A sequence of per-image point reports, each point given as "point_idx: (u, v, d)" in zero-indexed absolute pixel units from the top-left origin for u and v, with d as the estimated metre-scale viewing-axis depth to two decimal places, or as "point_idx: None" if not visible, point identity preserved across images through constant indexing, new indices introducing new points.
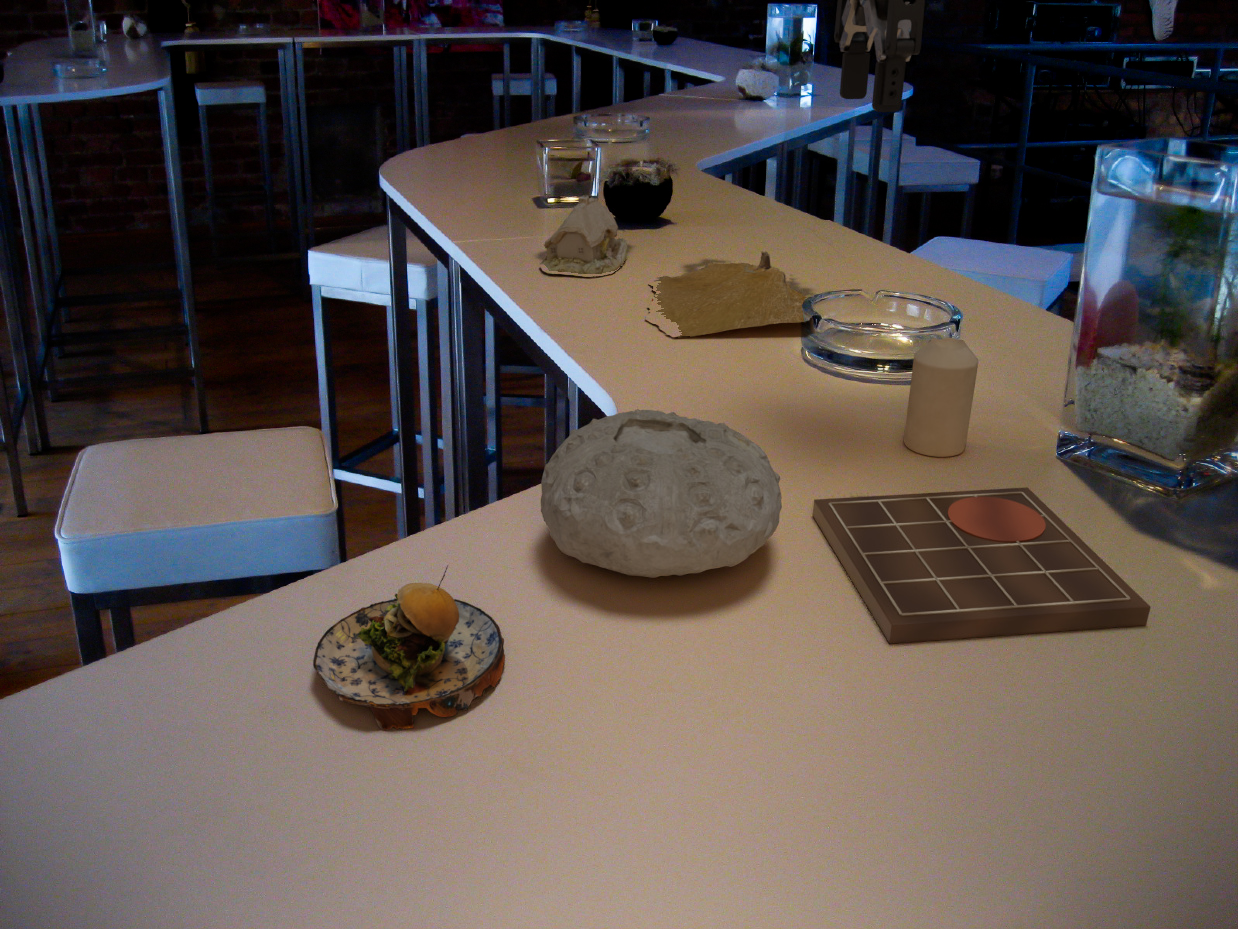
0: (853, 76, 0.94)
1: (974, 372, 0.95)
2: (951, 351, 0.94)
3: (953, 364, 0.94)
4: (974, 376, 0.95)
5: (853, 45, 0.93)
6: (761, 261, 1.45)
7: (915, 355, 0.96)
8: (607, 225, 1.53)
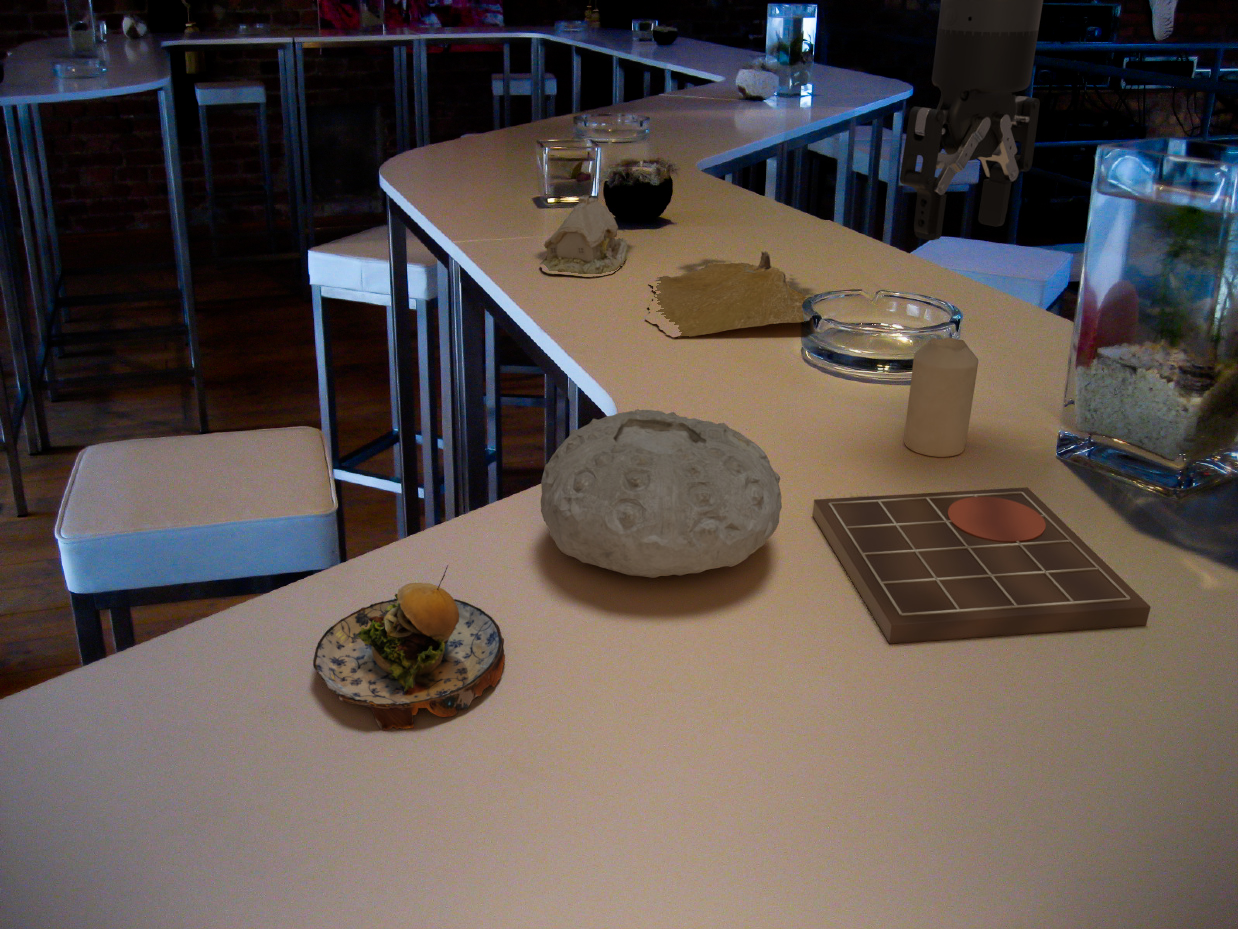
0: (989, 203, 0.93)
1: (974, 372, 0.95)
2: (951, 351, 0.94)
3: (953, 364, 0.94)
4: (974, 376, 0.95)
5: (993, 172, 0.92)
6: (761, 261, 1.45)
7: (915, 355, 0.96)
8: (607, 225, 1.53)
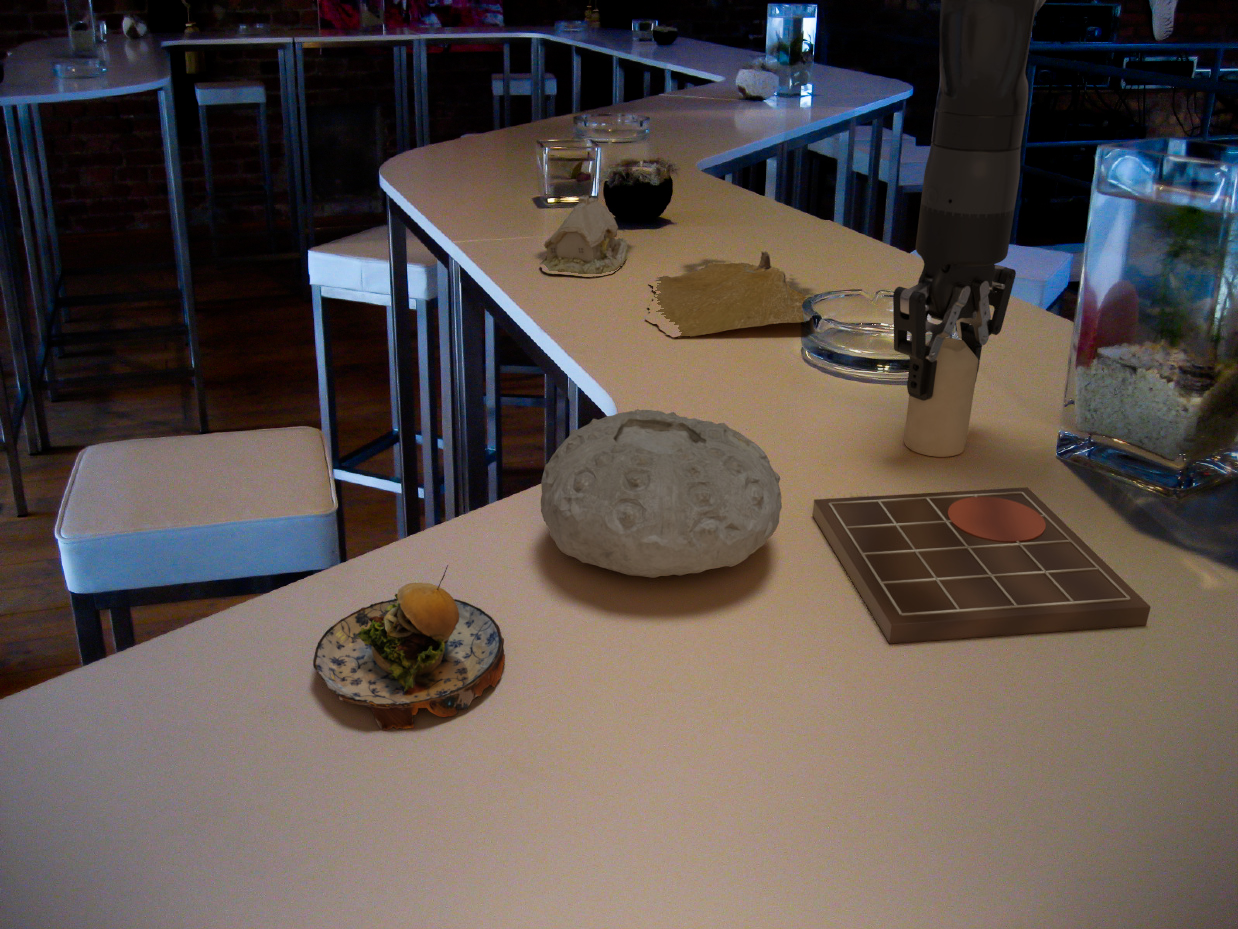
0: None
1: (974, 372, 0.95)
2: (951, 351, 0.94)
3: (953, 364, 0.94)
4: (974, 376, 0.95)
5: (965, 334, 0.97)
6: (761, 261, 1.45)
7: None
8: (607, 225, 1.53)
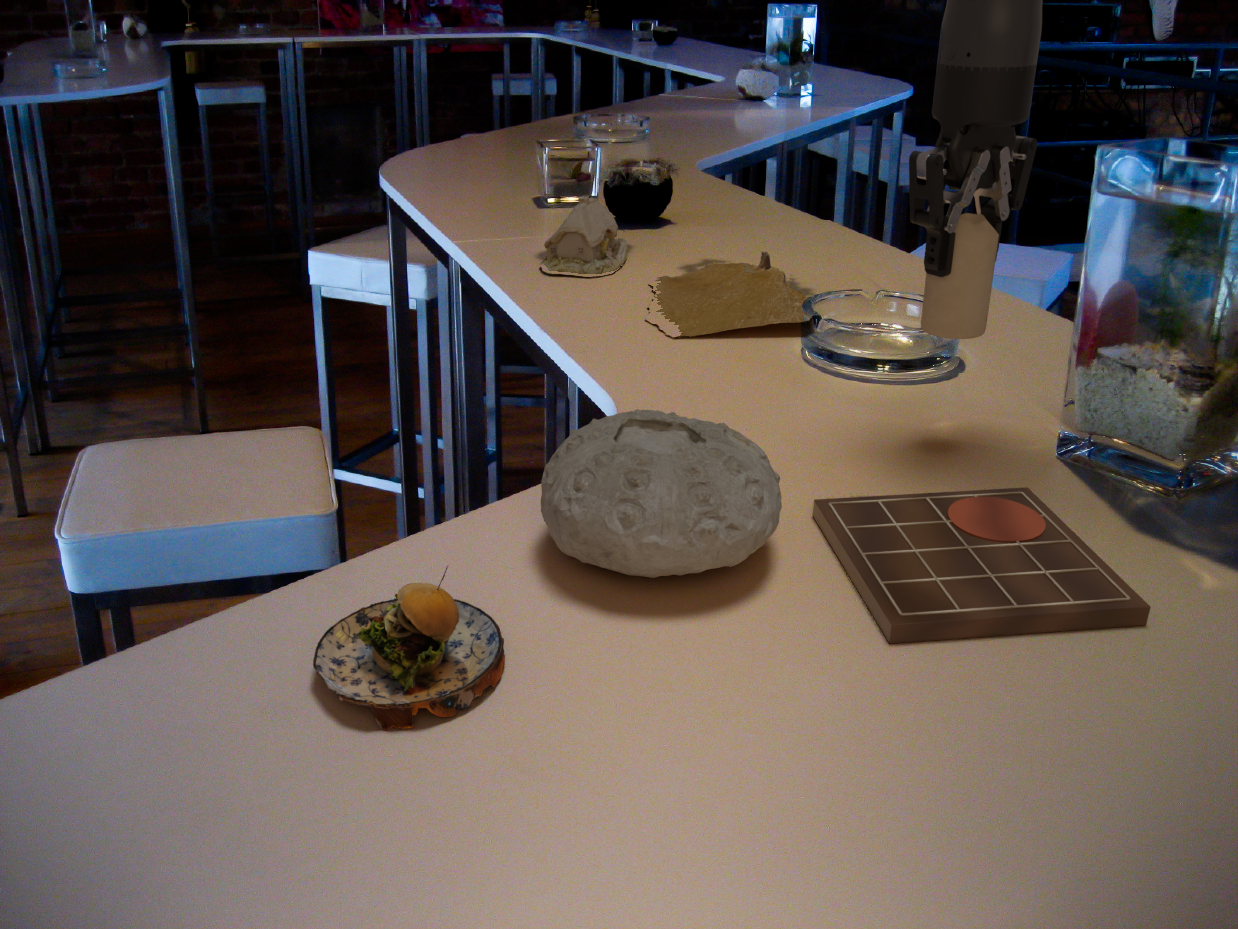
0: None
1: (994, 246, 0.90)
2: (970, 224, 0.90)
3: (972, 236, 0.89)
4: (994, 251, 0.90)
5: (984, 210, 0.93)
6: (761, 261, 1.45)
7: None
8: (607, 225, 1.53)
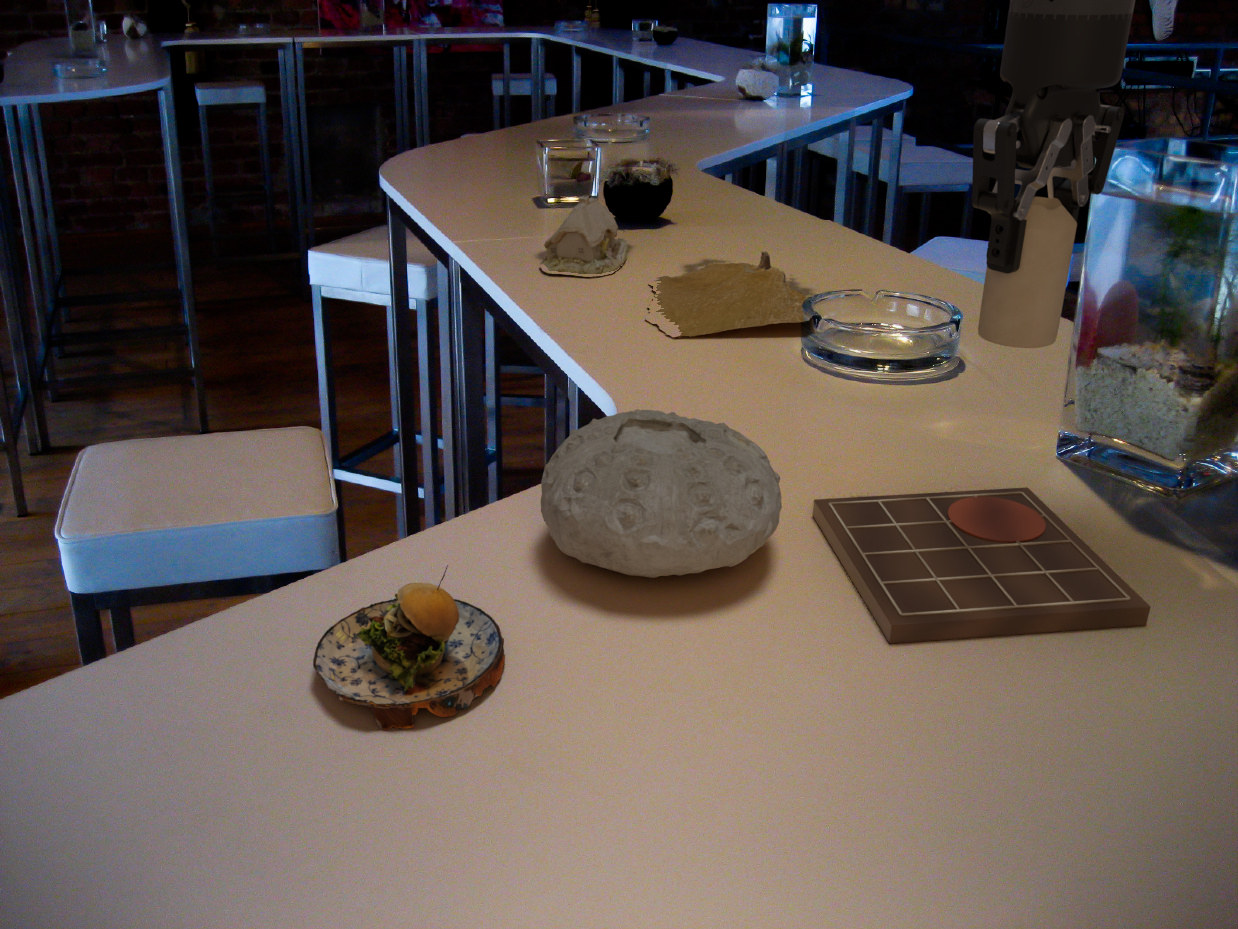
0: None
1: (1072, 237, 0.75)
2: (1043, 209, 0.74)
3: (1047, 224, 0.74)
4: (1072, 242, 0.75)
5: (1058, 194, 0.77)
6: (761, 261, 1.45)
7: None
8: (607, 225, 1.53)
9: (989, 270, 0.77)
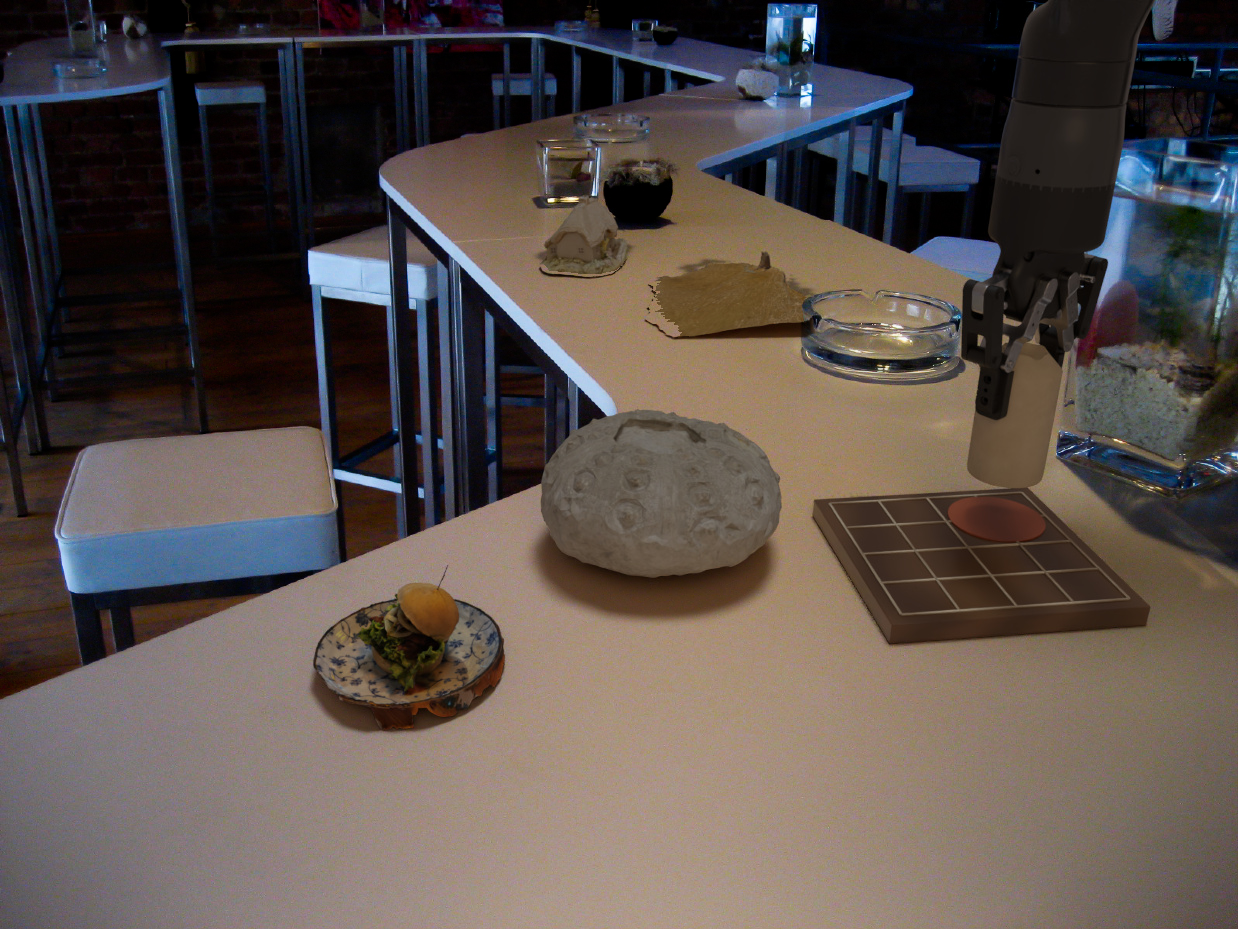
0: None
1: (1058, 385, 0.77)
2: (1030, 359, 0.76)
3: (1033, 375, 0.76)
4: (1058, 390, 0.77)
5: (1044, 339, 0.80)
6: (761, 261, 1.45)
7: None
8: (607, 225, 1.53)
9: None
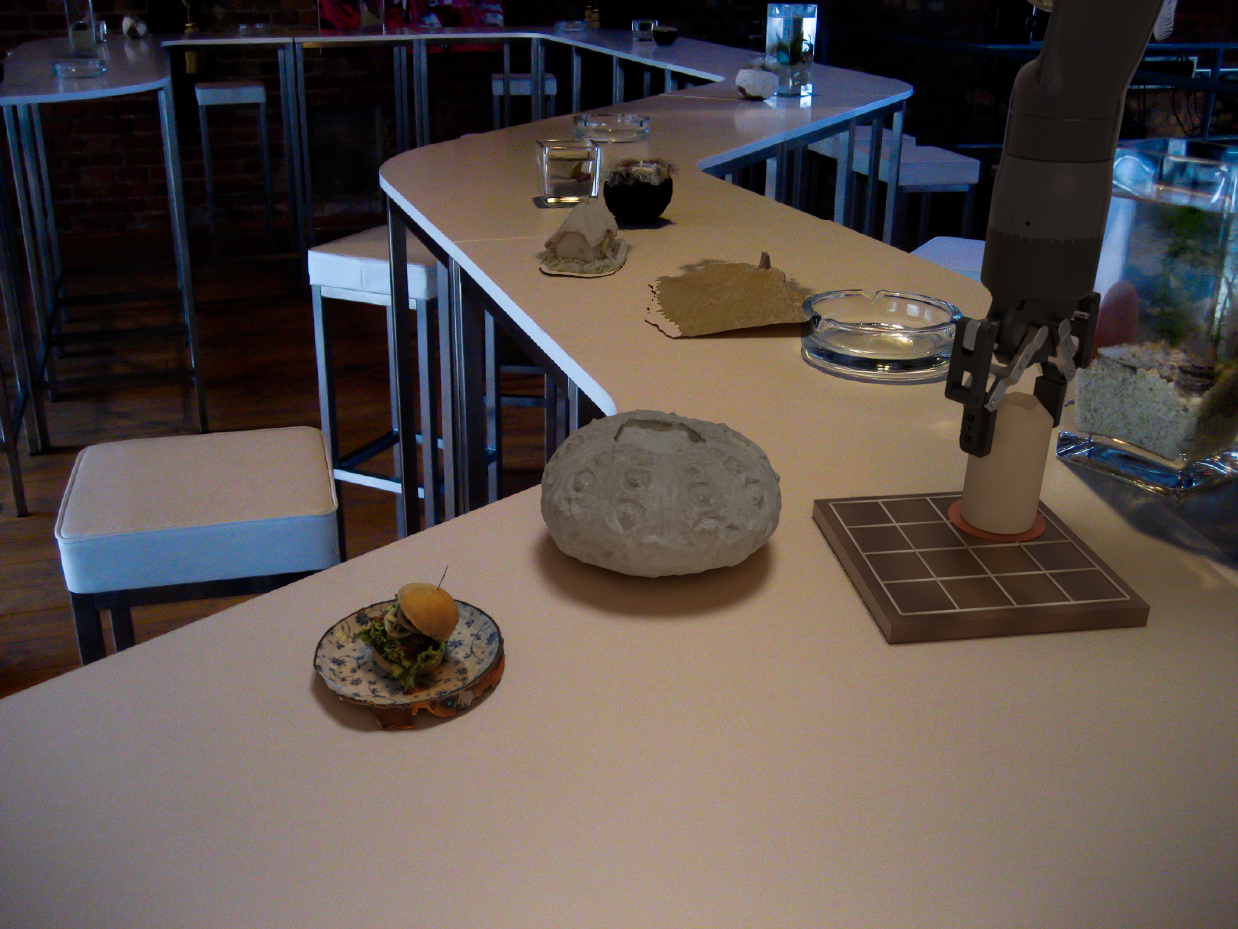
0: (1042, 403, 0.82)
1: (1049, 434, 0.79)
2: (1022, 410, 0.78)
3: (1025, 425, 0.78)
4: (1048, 439, 0.79)
5: (1046, 371, 0.81)
6: (761, 261, 1.45)
7: None
8: (607, 225, 1.53)
9: (971, 460, 0.81)
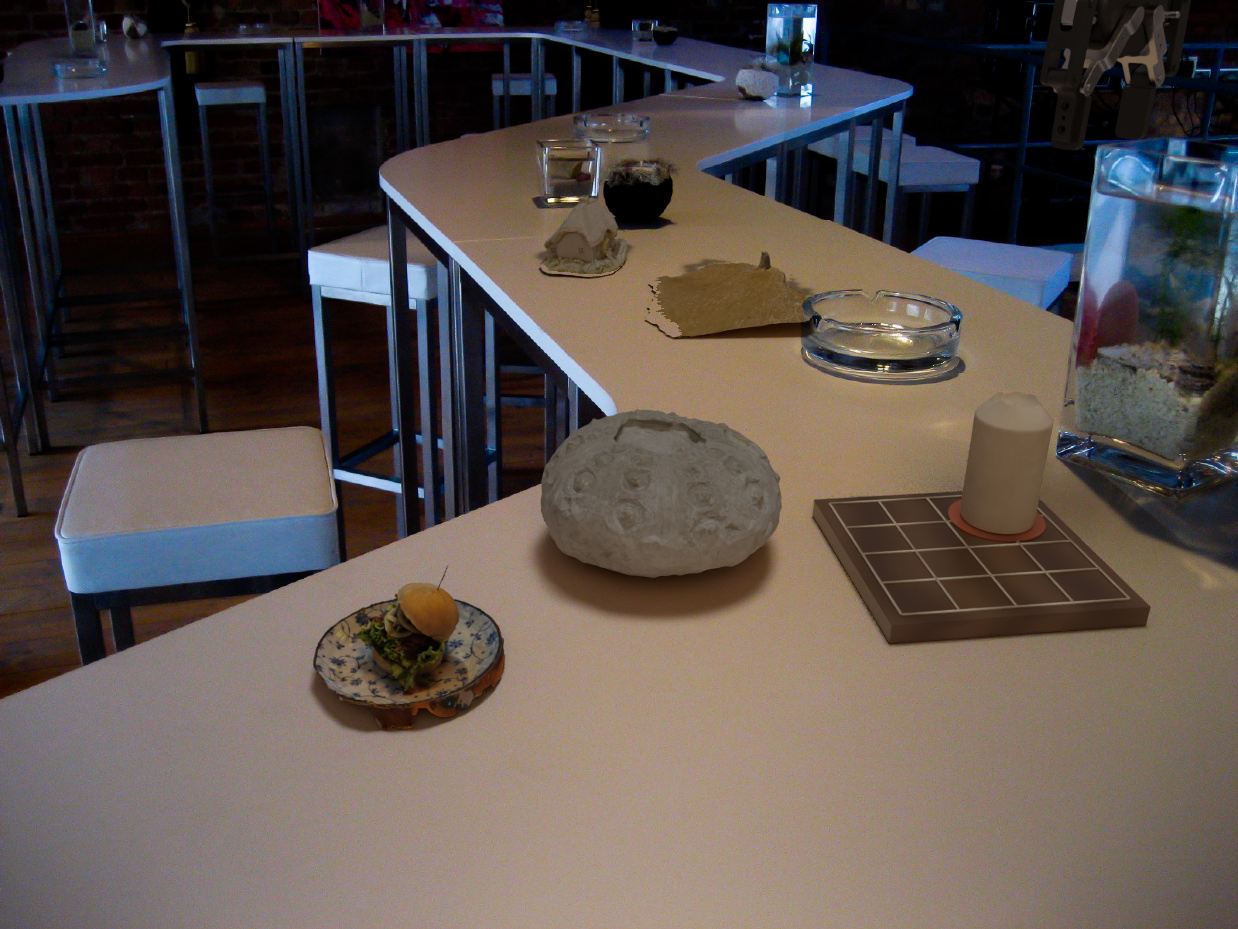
0: (1129, 112, 0.83)
1: (1049, 434, 0.79)
2: (1022, 410, 0.78)
3: (1025, 425, 0.78)
4: (1048, 439, 0.79)
5: (1135, 77, 0.82)
6: (761, 261, 1.45)
7: (976, 413, 0.80)
8: (607, 225, 1.53)
9: (971, 460, 0.81)
